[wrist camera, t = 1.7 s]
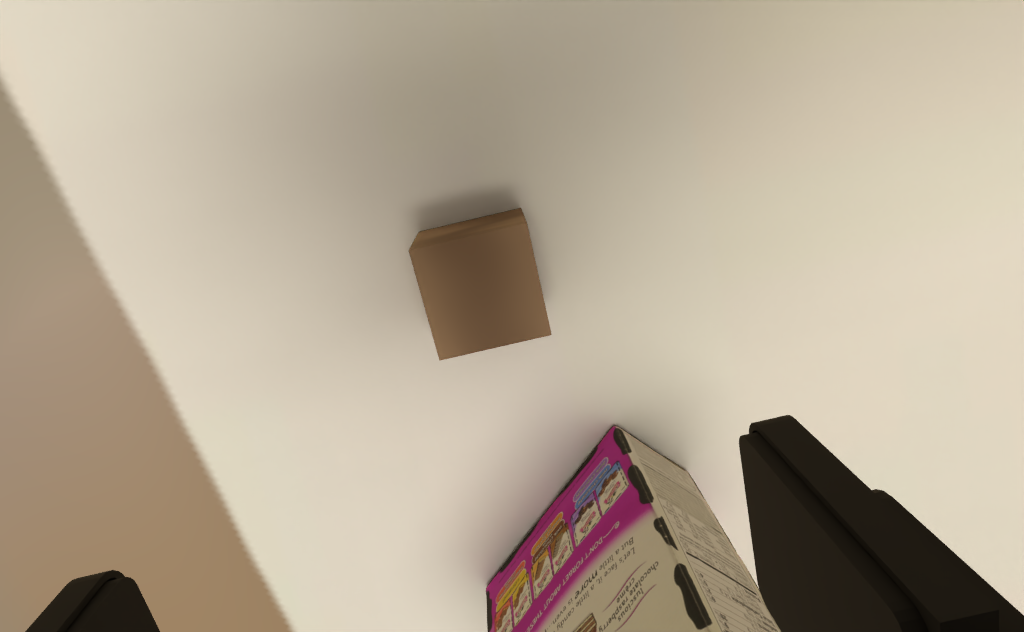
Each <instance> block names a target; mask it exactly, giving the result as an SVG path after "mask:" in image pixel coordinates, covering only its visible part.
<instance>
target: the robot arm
mask: <svg viewBox="0 0 1024 632" xmlns="http://www.w3.org/2000/svg"><path fill="white" fill-rule="evenodd" d="M739 447H740V455H741V462H742V469H743V477H744V484H745V492H746V499H747V507H748V514H749V522H750V529H751V537H752V544H753V552H754V559H755V567H756V574H757V581H758V586H759V590H760V593H761V596H762V599H763V601H764V603H765V605H766V607H767V609H768V611H769V612H770V614H771V616H772V617H773V619H774V621H775V622H776V624H777V626H778V628H779V629H780V631H781V632H1024V615H1022V614H1021V613H1020V612H1019V611H1018V610H1017V609H1016V608H1015V607H1014V606H1012V605H1011V604H1010V603H1009V602H1008V601H1007V600H1006V599H1005V598H1004V597H1002V596H1001V595H1000V594H999V593H998V592H997V591H996V590H995V589H994V588H993V587H991V586H990V585H989V584H988V583H987V582H986V581H985V580H984V579H983V578H981V577H980V576H979V575H978V574H977V573H976V572H975V571H974V570H973V569H971V568H970V567H969V566H968V565H967V564H966V563H965V562H964V561H963V560H962V559H960V558H959V557H958V556H957V555H956V554H955V553H954V552H953V551H952V550H950V549H949V548H948V547H947V546H946V545H945V544H944V543H943V542H942V541H940V540H939V539H938V538H937V537H936V536H935V535H934V534H933V533H932V532H931V531H929V530H928V529H927V528H926V527H925V526H924V525H923V524H922V523H921V522H919V521H918V520H917V519H916V518H915V517H914V516H913V515H912V514H911V513H909V512H908V511H907V510H906V509H905V508H904V507H903V506H902V505H901V504H900V503H898V502H897V501H896V500H895V499H894V498H893V497H892V496H890V495H889V494H887V493H886V492H884V491H882V490H877V489H875V490H871V489H870V488H868V487H867V486H866V485H865V484H864V483H863V482H862V481H861V480H860V479H859V478H858V477H857V476H856V475H855V474H853V473H852V472H851V471H850V470H849V469H848V468H847V467H846V466H845V465H844V464H843V463H842V462H841V461H840V460H839V459H837V458H836V457H835V456H834V455H833V454H832V453H831V452H830V451H829V450H828V449H827V448H826V447H825V446H824V445H822V444H821V443H820V442H819V441H818V440H817V439H816V438H815V437H814V436H813V435H812V434H811V433H810V432H809V431H807V430H806V429H805V428H804V427H803V426H802V425H801V424H800V423H799V422H798V421H797V420H796V419H795V418H793V417H792V416H790V415H785V416H781V417H777V418H772V419H768V420H764V421H759V422H755V423H751V425H750V428H749V434H747V435H743V436H740V438H739ZM26 632H160V631H159V629H158V627H157V625H156V622H155V620H154V618H153V616H152V614H151V612H150V610H149V608H148V606H147V604H146V602H145V600H144V598H143V596H142V594H141V592H140V590H139V588H138V586H137V584H136V582H135V581H134V580H133V579H131V578H129V577H125V576H124V575H123V574H122V573H120V572H119V571H114V570H111V571H107V572H102V573H98V574H94V575H90V576H85V577H81V578H77V579H74V580H72V581H71V582H69V583H68V584H67V585H66V586H65V587H64V588H63V589H62V591H61V592H60V593H59V594H58V595H57V596H56V597H55V599H54V600H53V601H52V602H51V603H50V604H49V605H48V606H47V608H46V609H45V610H44V611H43V612H42V613H41V615H40V616H39V617H38V618H37V619H36V620H35V622H34V623H33V624H32V625H31V626H30V627H29V628H28V629H27V631H26Z"/></svg>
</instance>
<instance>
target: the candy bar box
mask: <svg viewBox="0 0 1024 632" xmlns="http://www.w3.org/2000/svg"><path fill="white" fill-rule="evenodd" d="M486 595H487V625H488V632H781V631H780V629H779V628H778V626H777V624H776V622H775V621H774V619H773V617H772V616H771V614H770V612H769V611H768V609H767V607H766V605H765V603H764V601H763V599H762V596H761V593H760V590H759V589H758V587H757V585H756V583H755V582H754V580H753V578H752V576H751V574H750V573H749V571H748V569H747V568H746V566H745V564H744V563H743V561H742V560H741V558H740V557H739V555H738V554H737V552H736V550H735V549H734V547H733V546H732V544H731V542H730V540H729V538H728V537H727V535H726V534H725V532H724V530H723V528H722V527H721V525H720V524H719V522H718V520H717V519H716V517H715V515H714V513H713V512H712V510H711V509H710V507H709V505H708V504H707V502H706V501H705V499H704V497H703V495H702V494H701V492H700V490H699V489H698V487H697V485H696V484H695V482H694V480H693V479H692V477H691V476H690V474H689V473H688V472H687V471H686V470H684V469H683V468H681V467H680V466H678V465H677V464H675V463H674V462H673V461H671V460H669V459H667V458H665V457H663V456H661V455H660V454H658V453H656V452H655V451H653V450H652V449H651V448H649V447H648V446H646V445H645V444H643V443H641V442H640V441H638V440H637V439H636V438H634V437H633V436H631V435H629V434H628V433H626V432H625V431H624V430H622V429H621V428H619V427H617V426H613V427H612V428H611V429H610V430H609V432H608V433H607V434H606V435H605V437H604V438H603V439H602V441H601V442H600V443H599V445H598V446H597V447H596V448H595V450H594V451H593V452H592V454H591V455H590V456H589V457H588V459H587V460H586V461H585V463H584V464H583V465H582V467H581V468H580V469H579V471H578V472H577V473H576V474H575V476H574V477H573V478H572V480H571V481H570V482H569V483H568V485H567V486H566V487H565V489H564V490H563V491H562V492H561V494H560V495H559V496H558V498H557V499H556V500H555V501H554V503H553V504H552V505H551V507H550V508H549V509H548V510H547V512H546V513H545V514H544V516H543V517H542V518H541V519H540V520H539V522H538V523H537V524H536V525H535V527H534V528H533V529H532V531H531V532H530V533H529V534H528V536H527V537H526V538H525V539H524V541H523V542H522V543H521V545H520V546H519V547H518V548H517V550H516V551H515V552H514V553H513V555H512V556H511V557H510V558H509V560H508V561H507V562H506V564H505V565H504V566H503V567H502V569H501V570H500V571H499V572H498V574H497V575H496V576H495V577H494V579H493V580H492V581H491V583H490V584H489V585H488V586H487V588H486Z"/></svg>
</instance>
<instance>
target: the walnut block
mask: <svg viewBox="0 0 1024 632" xmlns="http://www.w3.org/2000/svg"><path fill="white" fill-rule="evenodd" d="M409 253H410V257H411V260H412V264H413V267H414V271H415V275H416V278H417V282H418V285H419V289H420V292H421V296H422V299H423V303H424V307H425V310H426V314H427V317H428V321H429V324H430V328H431V331H432V335H433V339H434V342H435V346H436V349H437V353H438V356H439V360H443V359H448V358H452V357H457V356H461V355H465V354H470V353H474V352H478V351H483V350H487V349H492V348H496V347H500V346H505V345H509V344H514V343H518V342H522V341H527V340H531V339H535V338H540V337H544V336H549V335H551V330H550V326H549V321H548V317H547V312H546V308H545V303H544V298H543V294H542V289H541V285H540V280H539V276H538V271H537V267H536V262H535V258H534V253H533V249H532V244H531V240H530V235H529V231H528V226H527V222H526V220H525V217H524V215H523V212H522V210H521V208H518V209H514V210H510V211H506V212H501V213H497V214H493V215H489V216H484V217H480V218H476V219H471V220H467V221H463V222H459V223H454V224H450V225H446V226H442V227H437V228H433V229H429V230H424V231H420V232H419V233H418V235H417V236H416V238H415V240H414V242H413V244H412V245H411V247H410V249H409Z"/></svg>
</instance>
